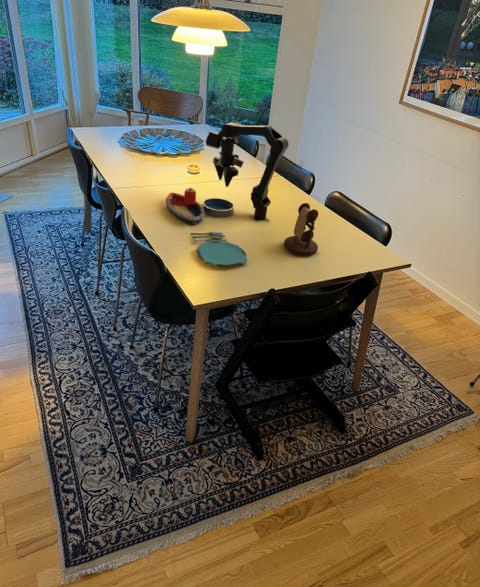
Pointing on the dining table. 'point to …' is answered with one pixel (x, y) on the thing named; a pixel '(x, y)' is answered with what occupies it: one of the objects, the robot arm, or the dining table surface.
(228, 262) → the cutlery set
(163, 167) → the dining table surface
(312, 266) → the dining table surface
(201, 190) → the dining table surface
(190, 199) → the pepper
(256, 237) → the dining table surface
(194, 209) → the dish
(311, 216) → the brown upright piece
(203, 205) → the bowl
